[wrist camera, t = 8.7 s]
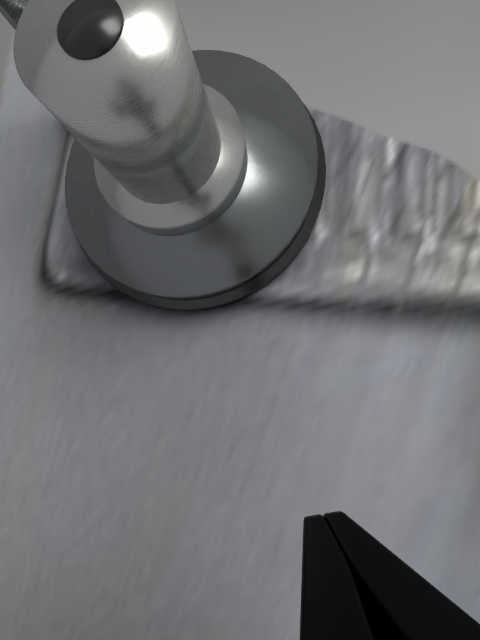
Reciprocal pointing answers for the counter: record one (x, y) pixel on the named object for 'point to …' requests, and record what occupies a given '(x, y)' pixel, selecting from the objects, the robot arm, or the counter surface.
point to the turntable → (236, 223)
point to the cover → (136, 108)
